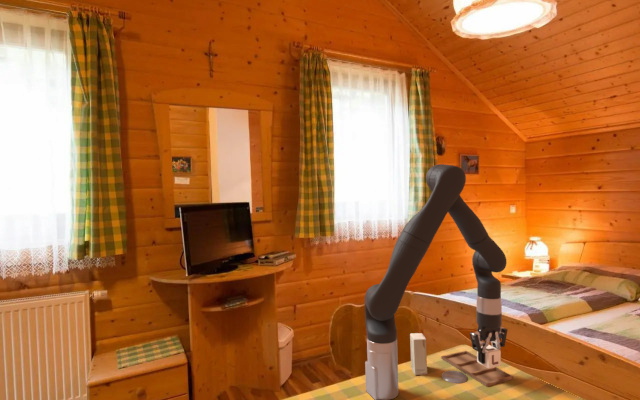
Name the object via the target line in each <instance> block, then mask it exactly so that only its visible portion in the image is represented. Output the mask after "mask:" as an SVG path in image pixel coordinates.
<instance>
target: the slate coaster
mask: <svg viewBox="0 0 640 400" xmlns="http://www.w3.org/2000/svg"><path fill="white" fill-rule="evenodd" d="M441 378H442V379H443V381H446V382H448V383H452V384H463V383H465V382H467V381H468V375H467V374H465V373H464V372H462V371H457V370H446V371H443V372H442V373H441Z"/></svg>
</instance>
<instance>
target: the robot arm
mask: <svg viewBox="0 0 640 400" xmlns="http://www.w3.org/2000/svg"><path fill="white" fill-rule="evenodd" d="M466 181H467V177H466V172H465V171H464V169H463V168H461V167H460V166H457V165H452V164H451V165H450V164H443V163H442V164H441V163H440V164H435V165H432V166H431V167H430V168H429V169H428V170H427V172H426V175H425V182H426V185H427V187H428V188H429V190H430V191H431V193H430V196H429V198H428V200H427V202H426V203H425V204H424V206H423V207H422V208H421V209H420V210H419V211H418V212H417V213H415V215H414V216H412V217H411V219H409V220H408V221H407V223H406V224H405V225H404V226H403V228H402V231H401V232H400V234H399V236H398V238H397V240H396V241H395V244H394V247H393V249H392V252H391V253H392V254H391V256H390V260H389V265H388V267H387V270H386V271H385V272H386V273H385V274H384V277H383V278H382V279H381V282H380V283H376V284H373V285H372V286H370V287H369V288H368V289H367V290H366V292H365V295H364V317H365V330H366V353H367V354H366V355H367V360H365V362H364V365H365V367H364V368H365V369H364V370H365V371H364V372H365V374H364V375H365V391H366V392H367V394H368V395H369V396H370V397H372V398H373V399H374V400H393V399H395V398H396V397H397V396H398V395H399V367H398V366H399V365H398V364H399V363H398V362H399V361H398V333H397V332H398V331H397V325H396V320H395V314H396V313H397V312H398V309H399V307H400V304H401V303H402V299H403V296H404V294H405V292H406V289H407V286H408V285H409V283H410V281H411V280H412V278H413V276H414V274H415V273H416V271H417V269H418V268H419V266H420V264H421V262H422V260H423V259H424V257H425V255H426V254H427V251H428V249H429V248H430V246H431V244H432V242H433V240H434V237H435V236H436V234H437V232H438V230H439V229H440V227H441V225H442V223H443V221H444V220H445V218H446V215H447V214H449V216H450V217H451V218H452V220H453V222H454V224H455V225H456V227H457V229H458V230H459V232H460V234H461V235H462V237H463V239H464V241H465V243H466V245H467V246H468V247H469V248H470V249H471V250H473V251H474V252H473V255H472V258H471V259H472V260H471V261H472V267H473V272H474V275H475V279H476V282H477V283H476V284H477V288H476V289H477V298H476V324H477V329H476V331H475V332H473V331H470V333H469V336H470V337H469V338H470V341H471V347H472V349H473V350H475V351H476V352H477V351H478V361H479V362H480V363H482V364H485V351H486V347H487V346H488V345H490V343H491V346H493V347H495V348H497V349H499V350H501V348H505V346H506V341H507V335H508V328H505V327H503V326H502V318H503V317H502V316H503V315H502V313H503V311H502V309H503V308H502V307H503V306H502V305H503V304H502V297H501V296H502V294H501V292H502V284H501V281H500V280H499V279H498V278H497V277H495V276H494V275H493V273H501V272H502V271H504V270H505V269H506V267H507V257H506V254H505V252H504V251H503V250H502V248H501V247H500V246H499V245H498V244H497V243H496V242H495V240H494V239H493V238H491V237H490V235H489V233H488V231H487V230H486V227H485V226H484V224H483V222H482V220H481V219H480V217H478V216H477V214H476V213H475V212H474V210H472V208H471V207H470V206H469V205H468V204H467V203H466V201H464V199H463V198H462V196H461V193H462V192H463V190H464V188H465V185H466ZM481 346H483V347H482V348H481Z"/></svg>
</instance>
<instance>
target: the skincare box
mask: <svg viewBox="0 0 640 400" xmlns="http://www.w3.org/2000/svg"><path fill="white" fill-rule="evenodd" d="M409 339H410V340H409V341H410V343H409V345H410V367H411V371H412V372H413V375H415V376H419V375H423V376H425V375H428V360H427V359H428V358H427V357H428V356H427V338H426V337H425V335H424V334H423V333H422V332H421V333H420V332H419V333H418V332H415V333H412V332H411V333H410V334H409Z"/></svg>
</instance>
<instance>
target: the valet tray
mask: <svg viewBox="0 0 640 400" xmlns="http://www.w3.org/2000/svg"><path fill="white" fill-rule="evenodd" d="M440 359H441V360H442V361H444V362H446V363H447V364H449V365H451V366H453V367H454V368H456V369H457V370H459V372H461V373H463V374H465V375H466V376H469V378H472V379H473V380H475V381H477V382H478V383H480V384H481V385H483V386H485V387H490V386H493V385H494V386H495V385H498V384H501V383H505V382H508V381H512V380H514V379H515V378H514V375H512V374H510V373H508V372H506V371H505V370H502V369H501V368H499V367H498V366H497V367H493V368H487V367H485V366H483V365H482V364H480V363H478V362H477V355H475V354H473V353H471V352H470V351H467V350H462V351H458V352H454V353H450V354H446V355H441V356H440Z"/></svg>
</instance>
